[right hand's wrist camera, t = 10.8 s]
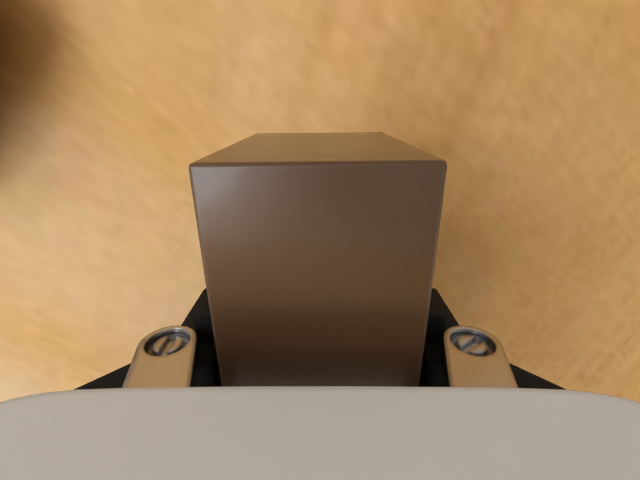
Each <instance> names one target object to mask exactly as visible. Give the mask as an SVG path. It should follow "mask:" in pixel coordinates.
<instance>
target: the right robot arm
mask: <svg viewBox="0 0 640 480" xmlns="http://www.w3.org/2000/svg"><path fill="white" fill-rule="evenodd" d="M0 480H640V402H636V401H632V400H629V399H625V398H621V397H616V396H610V395H604V394H599V393H593V392H584V391H573V390H566V389H564V388H562V387H560V386H557V385H555V384H553V383H551V382H549V381H547V380H544V379H542V378H540V377H538V376H536V375H534V374H531V373H529V372H527V371H525V370H523V369H521V368H518V367H516V366H514V365H512V364H510V363H509V362H508V360H507V357H506V354H505V352H504V349H503V346H502V345H501V343H500V341H499V340H498V339H497V338H495V337H494V336H493V335H491V334H490V333H488V332H486V331H484V330H481V329H479V328H475V327H471V326H459V324H458V323H457V321H456V320H455V318H454V316H453V315H452V313H451V312H450V310H449V309H448V307H447V305H446V304H445V302H444V301H443V299H442V297H441V296H440V294H439V293H438V291H437V290H436V289H434V288H432V290H431V298H430V306H429V314H428V322H427V330H426V338H425V346H424V354H423V362H422V370H421V378H420V386H419V387H386V386H242V387H221V382H220V375H219V368H218V362H217V355H216V348H215V341H214V335H213V328H212V321H211V315H210V308H209V301H208V295H207V289H204V290H203V292H202V294H201V295H200V297H199V298H198V300H197V301H196V303H195V305H194V306H193V308H192V309H191V311H190V312H189V314H188V316H187V317H186V319H185V320H184V322H183V324H182V325H181V326H169V327H165V328H161V329H159V330H156V331H154V332H152V333H150V334H149V335H147V336H146V337H145V338H143V339H142V340H141V341H140V343H139V345H138V346H137V349H136V352H135V354H134V357H133V360H132V362H131V364H128V365H126V366H124V367H122V368H120V369H118V370H115V371H113V372H111V373H109V374H107V375H105V376H102V377H100V378H98V379H96V380H94V381H92V382H89V383H87V384H85V385H83V386H81V387H78V388H76V389H74V390H67V391H56V392H47V393H41V394H36V395H30V396H24V397H19V398H15V399H11V400H7V401H4V402H0Z"/></svg>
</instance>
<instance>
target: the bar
mask: <svg viewBox="0 0 640 480" xmlns="http://www.w3.org/2000/svg"><path fill="white" fill-rule="evenodd" d="M446 169H447V164H446V161H444V160H441V159H439V158H437V157H435V156H433V155H430V154H428V153H426V152H424V151H422V150H419V149H417V148H415V147H413V146H410V145H408V144H406V143H404V142H402V141H399V140H397V139H395V138H393V137H391V136H388V135H386V134H384V133H382V132H370V133H273V134H255V135H253V136H251V137H248V138H246V139H244V140H242V141H240V142H237V143H235V144H233V145H231V146H228V147H226V148H224V149H222V150H220V151H217V152H215V153H213V154H211V155H209V156H206V157H204V158H202V159H200V160H197V161H195V162H193V163H191V164H190V165H189V174H190V181H191V187H192V194H193V201H194V207H195V214H196V221H197V227H198V234H199V241H200V248H201V254H202V261H203V268H204V274H205V281H206V288H207V295H208V301H209V308H210V315H211V321H212V328H213V335H214V341H215V348H216V355H217V362H218V368H219V375H220V382H221V387H242V386H386V387H419V386H420V378H421V370H422V362H423V354H424V346H425V338H426V330H427V322H428V314H429V306H430V298H431V290H432V282H433V274H434V266H435V257H436V249H437V241H438V233H439V225H440V217H441V209H442V201H443V193H444V185H445V177H446Z"/></svg>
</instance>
